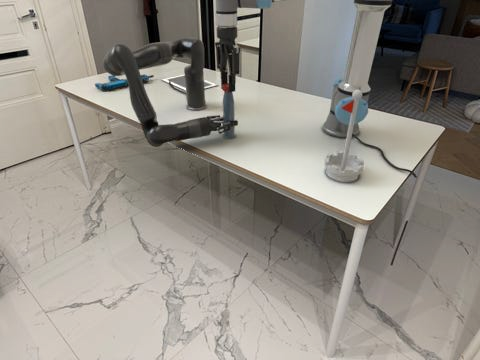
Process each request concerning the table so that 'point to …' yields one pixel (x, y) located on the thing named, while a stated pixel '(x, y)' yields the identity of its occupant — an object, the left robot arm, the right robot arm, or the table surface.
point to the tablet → (180, 82)
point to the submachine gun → (118, 82)
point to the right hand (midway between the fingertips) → (228, 89)
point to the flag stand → (346, 151)
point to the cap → (225, 87)
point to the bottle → (228, 113)
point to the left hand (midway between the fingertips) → (234, 120)
